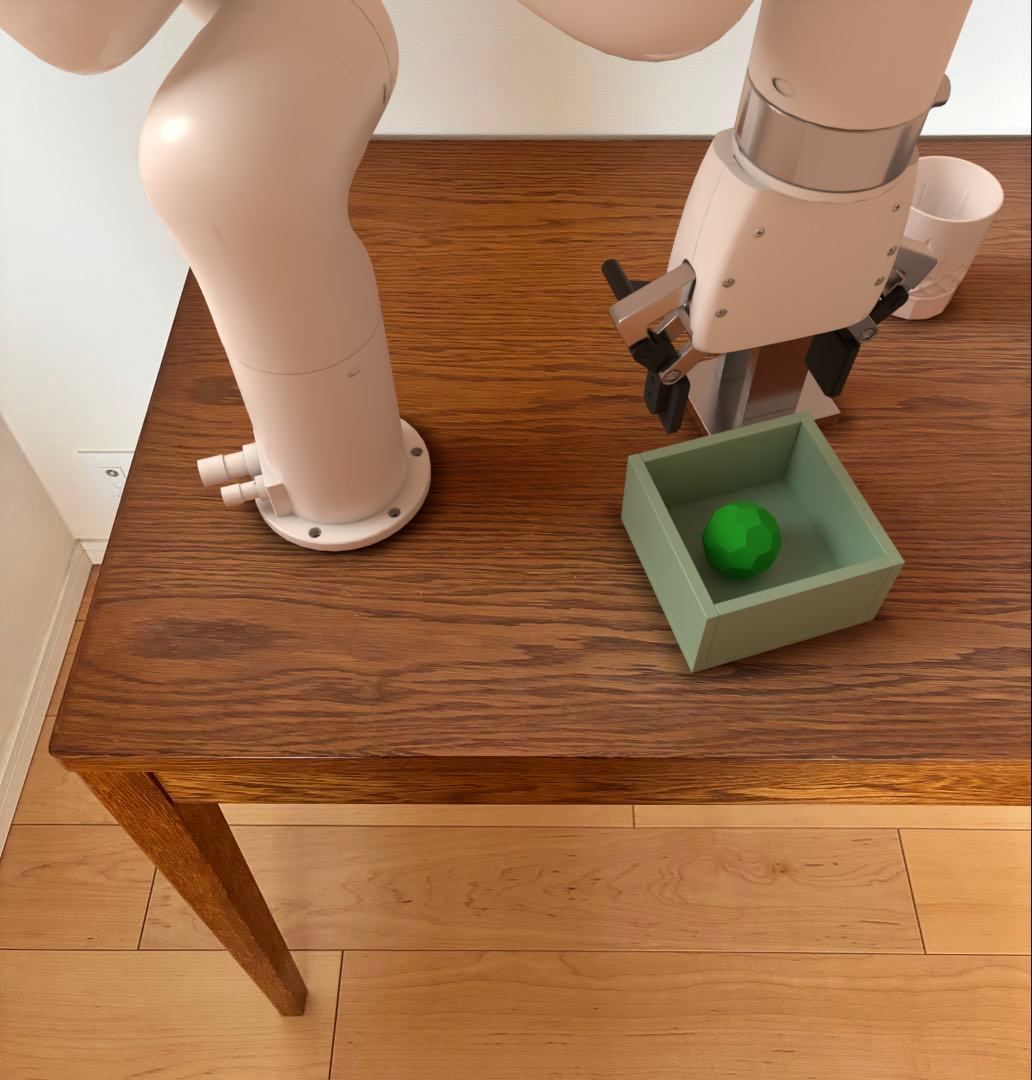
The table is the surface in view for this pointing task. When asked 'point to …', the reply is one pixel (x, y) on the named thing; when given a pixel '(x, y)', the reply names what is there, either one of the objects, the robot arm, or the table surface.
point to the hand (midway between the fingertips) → (743, 397)
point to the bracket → (756, 388)
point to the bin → (805, 527)
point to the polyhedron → (741, 540)
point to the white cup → (948, 226)
